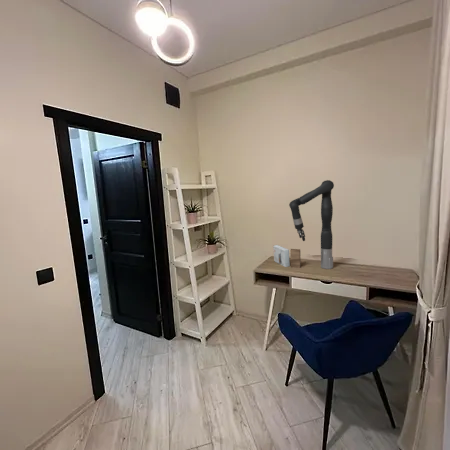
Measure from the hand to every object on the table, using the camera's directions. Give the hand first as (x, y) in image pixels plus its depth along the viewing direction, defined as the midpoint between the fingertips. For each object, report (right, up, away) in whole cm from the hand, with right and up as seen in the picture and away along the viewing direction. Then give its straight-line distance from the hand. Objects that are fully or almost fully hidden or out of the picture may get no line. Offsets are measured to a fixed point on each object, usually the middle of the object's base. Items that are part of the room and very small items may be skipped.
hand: (302, 239), depth 231 cm
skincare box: (-16, -24, +11) cm, 31 cm away
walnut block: (-6, -25, -1) cm, 26 cm away
